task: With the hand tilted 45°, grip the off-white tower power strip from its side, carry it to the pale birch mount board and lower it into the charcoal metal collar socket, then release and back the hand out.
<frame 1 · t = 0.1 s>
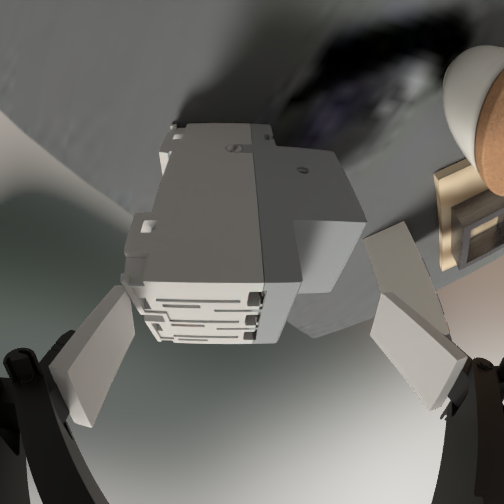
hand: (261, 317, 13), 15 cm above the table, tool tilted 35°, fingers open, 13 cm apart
mount board: (476, 211, 29), on the table
circuit breaker: (254, 159, 24), on the table, touching gripper
socket collar: (485, 226, 27), on the mount board, point 3 cm above the table
power strip: (387, 242, 34), on the table
lidded bowl: (467, 86, 16), on the table
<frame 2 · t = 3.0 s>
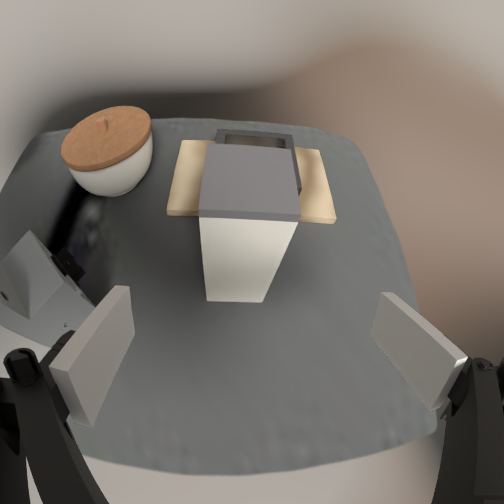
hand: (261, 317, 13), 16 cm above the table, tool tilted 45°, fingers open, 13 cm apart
mount board: (252, 179, 39), on the table
circuit breaker: (65, 331, 25), on the table
socket collar: (254, 164, 36), on the mount board, point 3 cm above the table
power strip: (234, 276, 31), on the table
lidded bowl: (119, 179, 37), on the table
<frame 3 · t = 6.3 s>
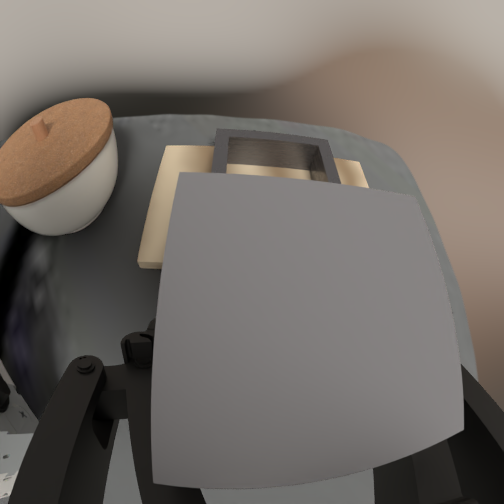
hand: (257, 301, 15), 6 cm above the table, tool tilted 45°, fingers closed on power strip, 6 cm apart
mount board: (269, 206, 26), on the table
circuit breaker: (19, 428, 13), on the table
socket collar: (274, 185, 23), on the mount board, point 3 cm above the table
power strip: (247, 374, 18), on the table, touching gripper
lidded bowl: (77, 205, 24), on the table
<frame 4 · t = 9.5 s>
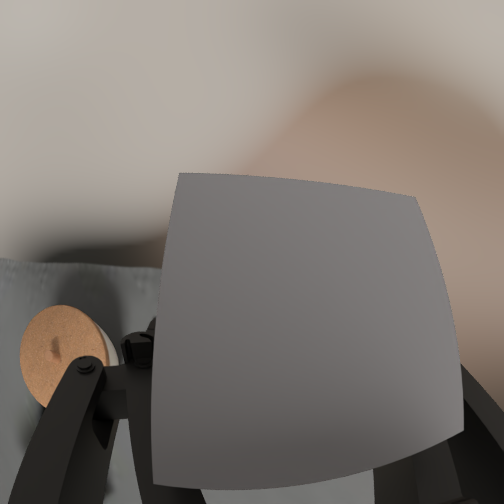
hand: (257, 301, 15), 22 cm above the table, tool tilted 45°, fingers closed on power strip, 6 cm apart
power strip: (247, 374, 18), point 16 cm above the table, touching gripper
lidded bowl: (91, 368, 30), on the table
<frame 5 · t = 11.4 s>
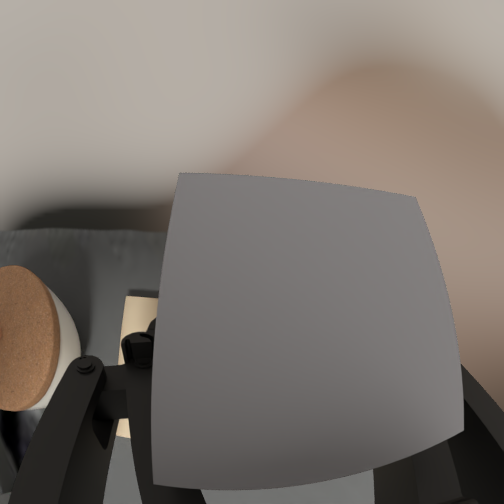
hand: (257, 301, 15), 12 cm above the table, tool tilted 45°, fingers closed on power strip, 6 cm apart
mount board: (235, 375, 24), on the table
power strip: (247, 374, 18), point 6 cm above the table, touching gripper
lidded bowl: (52, 355, 22), on the table
when the fingers open (8 cm above the table, at t = 12.8 s): power strip drops 1 cm, resting on mount board.
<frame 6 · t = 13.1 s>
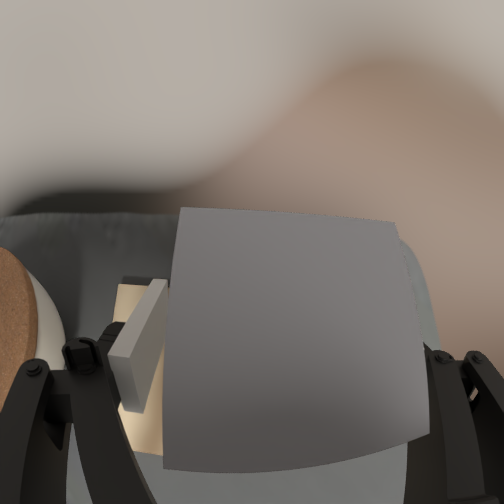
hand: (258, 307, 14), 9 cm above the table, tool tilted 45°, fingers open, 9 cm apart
mount board: (244, 375, 20), on the table
power strip: (245, 375, 19), point 1 cm above the table, touching mount board
lidded bowl: (37, 352, 18), on the table
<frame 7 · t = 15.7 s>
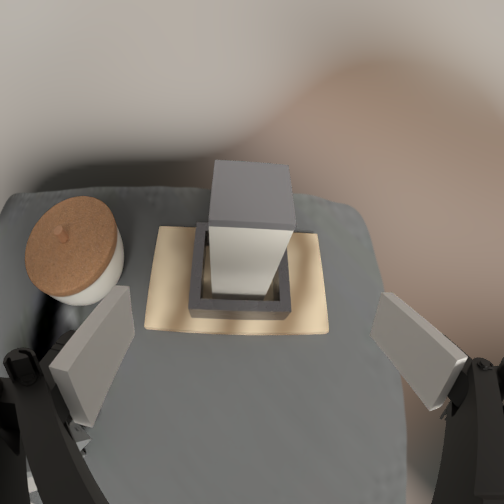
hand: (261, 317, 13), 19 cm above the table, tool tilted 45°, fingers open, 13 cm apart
mount board: (238, 280, 35), on the table
circuit breaker: (63, 436, 22), on the table
socket collar: (239, 270, 32), on the mount board, point 3 cm above the table
power strip: (238, 277, 34), point 1 cm above the table, touching mount board
lidded bowl: (94, 275, 33), on the table
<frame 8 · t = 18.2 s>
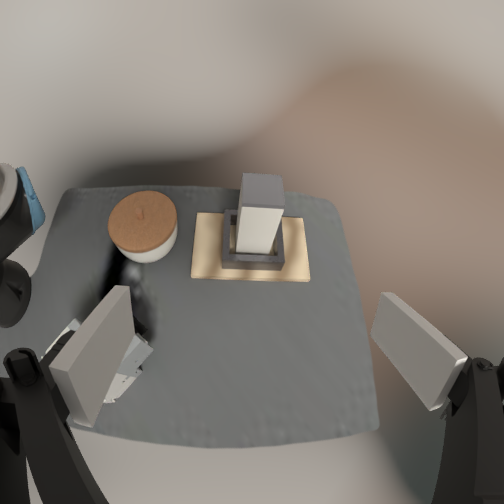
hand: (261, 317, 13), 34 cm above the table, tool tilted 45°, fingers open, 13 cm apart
mount board: (250, 247, 54), on the table
circuit breaker: (124, 360, 41), on the table
socket collar: (252, 239, 52), on the mount board, point 3 cm above the table
power strip: (251, 244, 53), point 1 cm above the table, touching mount board
lidded bowl: (151, 245, 52), on the table
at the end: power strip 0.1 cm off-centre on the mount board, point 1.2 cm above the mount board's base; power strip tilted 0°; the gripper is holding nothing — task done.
